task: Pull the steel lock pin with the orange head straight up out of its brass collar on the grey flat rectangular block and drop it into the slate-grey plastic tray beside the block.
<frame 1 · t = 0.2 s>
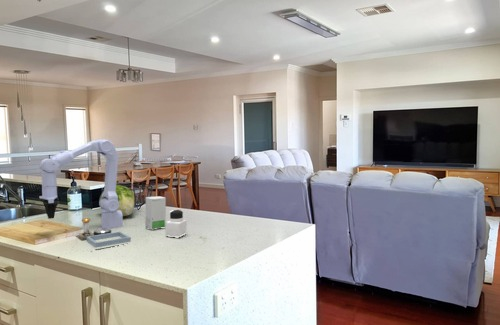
hand: (50, 216, 171), 10 cm above the counter, tool pointing down, fingers open, 7 cm apart
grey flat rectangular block: (94, 238, 173), on the counter
lock pin: (86, 236, 171), point 1 cm above the counter, touching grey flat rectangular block
medicine bottle: (176, 236, 179), on the counter
tray: (108, 243, 165), on the counter
skincare box: (155, 228, 193), on the counter
lettuce: (119, 216, 219), on the counter
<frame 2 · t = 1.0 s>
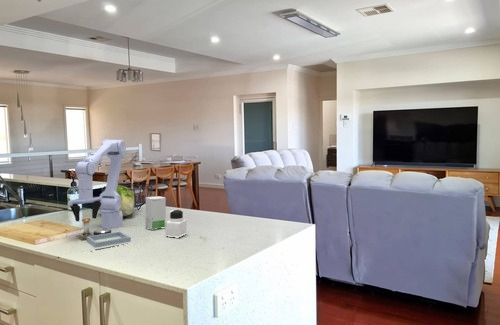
hand: (86, 219, 170), 9 cm above the counter, tool pointing down, fingers open, 7 cm apart
nothing on the counter moved.
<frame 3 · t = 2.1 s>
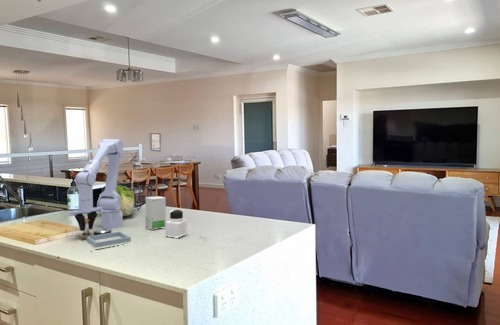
hand: (86, 229, 171), 4 cm above the counter, tool pointing down, fingers closed on lock pin, 3 cm apart
lock pin: (86, 236, 171), point 1 cm above the counter, touching gripper, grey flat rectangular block
everything else where it was.
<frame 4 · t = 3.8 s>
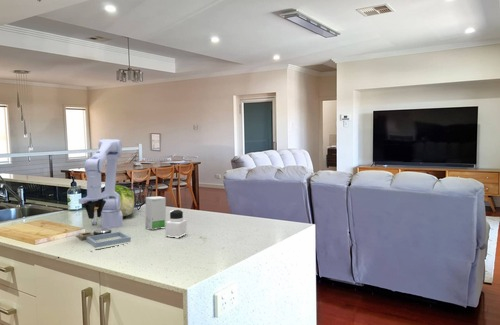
hand: (94, 217, 168), 10 cm above the counter, tool pointing down, fingers closed on lock pin, 3 cm apart
lock pin: (94, 224, 168), point 7 cm above the counter, touching gripper
everything else where it was.
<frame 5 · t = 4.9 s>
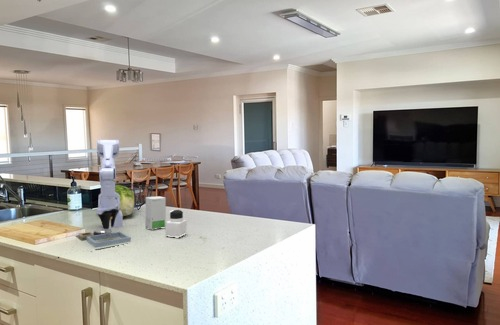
hand: (108, 227, 165), 7 cm above the counter, tool pointing down, fingers closed on lock pin, 3 cm apart
lock pin: (107, 235, 165), point 4 cm above the counter, touching gripper
everything else where it was.
when the fingers open (6 cm above the counter, at t = 5.4 s): lock pin drops 2 cm, resting on tray.
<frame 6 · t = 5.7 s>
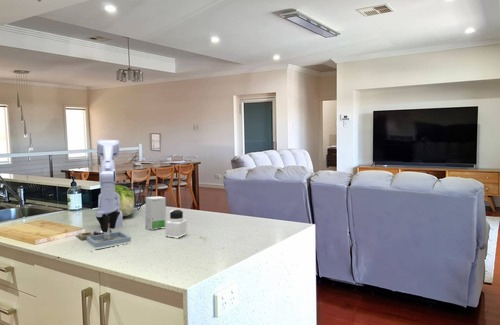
hand: (108, 230, 165), 6 cm above the counter, tool pointing down, fingers open, 5 cm apart
lock pin: (107, 242, 165), point 1 cm above the counter, tilted 7°, touching tray
everything else where it was.
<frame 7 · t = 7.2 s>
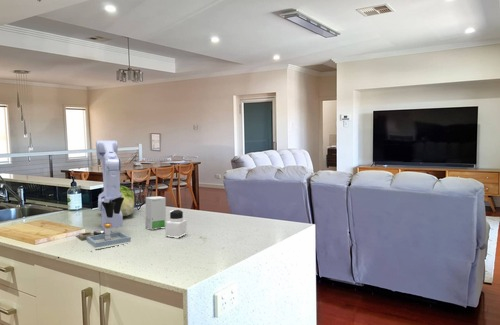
hand: (113, 215, 173), 10 cm above the counter, tool pointing down, fingers open, 7 cm apart
lock pin: (108, 242, 165), point 1 cm above the counter, touching tray
everything else where it was.
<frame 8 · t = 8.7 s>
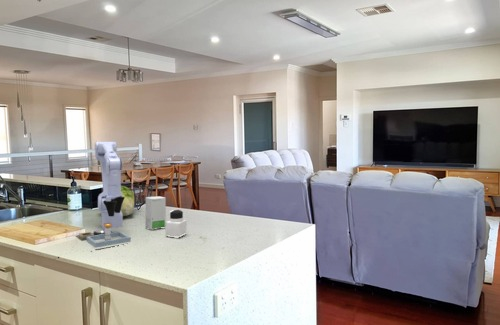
hand: (114, 214, 175), 10 cm above the counter, tool pointing down, fingers open, 7 cm apart
nothing on the counter moved.
at the end: lock pin inside the target area on the tray (0.3 cm from its centre), point 0.6 cm above the tray's base; the gripper is holding nothing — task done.
